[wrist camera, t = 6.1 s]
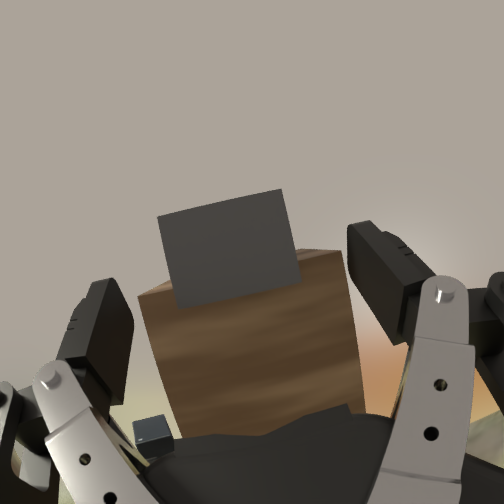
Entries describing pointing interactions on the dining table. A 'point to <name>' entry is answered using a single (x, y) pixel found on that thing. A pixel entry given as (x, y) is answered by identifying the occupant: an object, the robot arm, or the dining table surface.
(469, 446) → the dining table surface
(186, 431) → the stand
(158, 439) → the box
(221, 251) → the dark grey matte block
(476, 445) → the dining table surface
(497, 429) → the dining table surface
